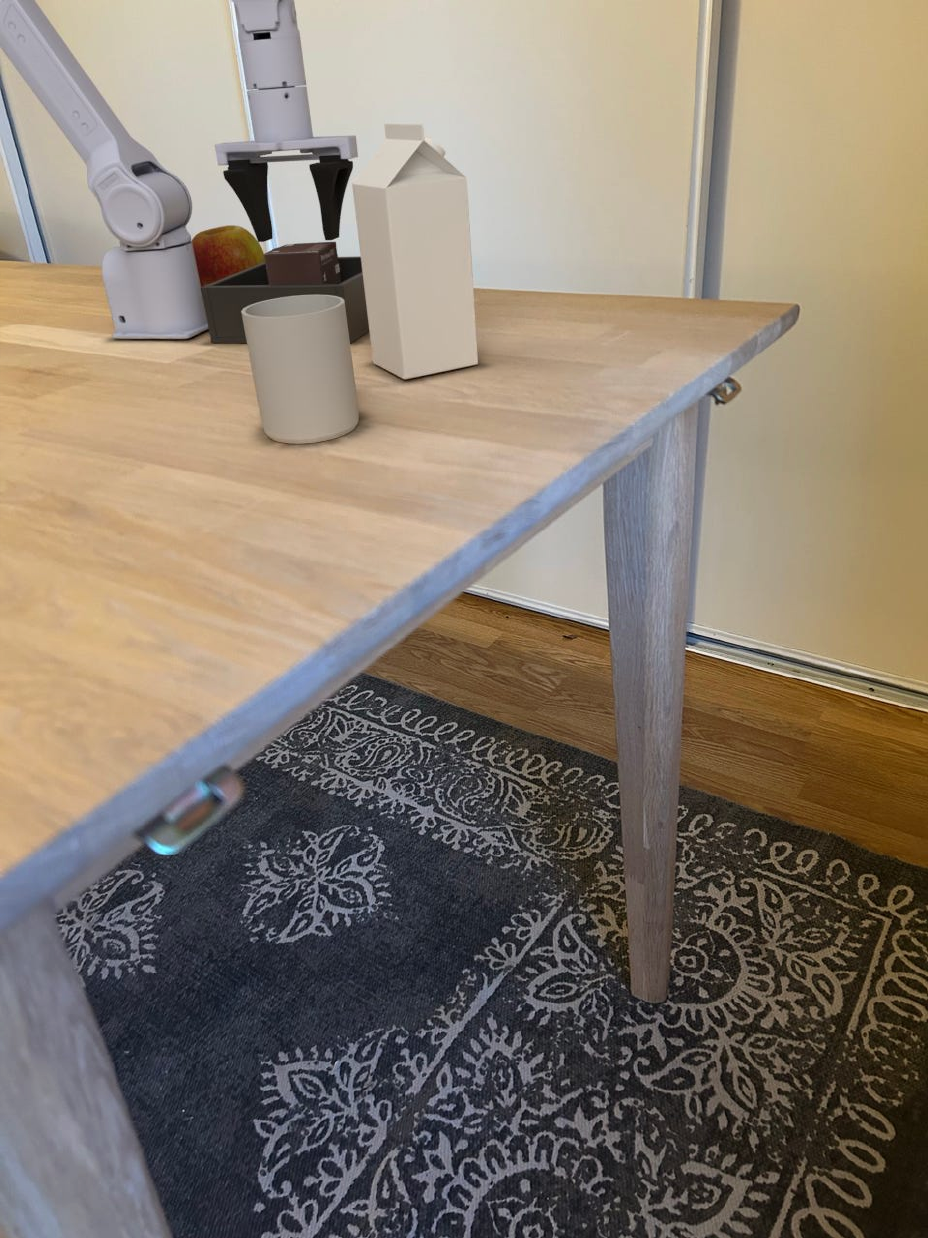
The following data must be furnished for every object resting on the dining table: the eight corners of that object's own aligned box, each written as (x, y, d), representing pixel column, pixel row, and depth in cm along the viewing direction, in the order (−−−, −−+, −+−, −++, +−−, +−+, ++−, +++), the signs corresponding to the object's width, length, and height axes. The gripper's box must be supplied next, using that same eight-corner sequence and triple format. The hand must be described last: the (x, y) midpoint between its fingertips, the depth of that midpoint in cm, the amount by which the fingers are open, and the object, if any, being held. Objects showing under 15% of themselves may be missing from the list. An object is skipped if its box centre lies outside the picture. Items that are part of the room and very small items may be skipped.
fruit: (178, 302, 117) (164, 233, 113) (226, 286, 124) (214, 221, 120) (238, 305, 113) (225, 233, 109) (285, 289, 120) (274, 221, 116)
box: (328, 325, 98) (318, 250, 94) (274, 327, 99) (261, 253, 95) (346, 312, 103) (337, 240, 99) (295, 313, 104) (283, 243, 100)
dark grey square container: (211, 343, 97) (199, 287, 94) (279, 308, 110) (271, 258, 107) (350, 343, 92) (343, 285, 90) (405, 307, 105) (400, 255, 102)
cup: (278, 452, 67) (255, 323, 62) (245, 415, 75) (222, 299, 70) (373, 431, 69) (358, 305, 64) (331, 398, 77) (315, 284, 72)
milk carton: (404, 381, 80) (379, 128, 70) (372, 364, 85) (344, 127, 76) (479, 366, 82) (464, 120, 73) (443, 350, 88) (424, 119, 78)
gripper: (188, 95, 89) (216, 247, 96) (328, 84, 85) (347, 244, 92) (226, 91, 95) (250, 235, 102) (358, 82, 91) (374, 232, 98)
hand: (298, 239), depth 97 cm, fingers open, 7 cm apart
